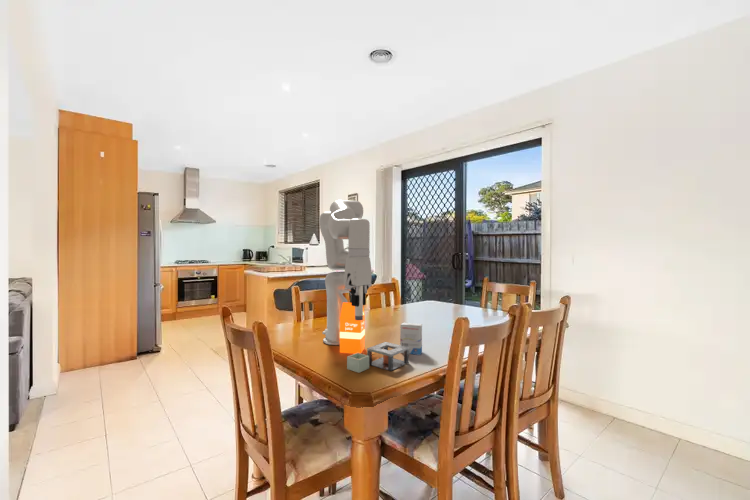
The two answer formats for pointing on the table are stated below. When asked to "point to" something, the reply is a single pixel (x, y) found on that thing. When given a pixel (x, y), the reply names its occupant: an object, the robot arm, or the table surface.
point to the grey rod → (360, 308)
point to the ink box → (411, 337)
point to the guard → (392, 362)
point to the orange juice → (351, 330)
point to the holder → (358, 362)
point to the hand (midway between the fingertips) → (358, 304)
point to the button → (385, 359)
